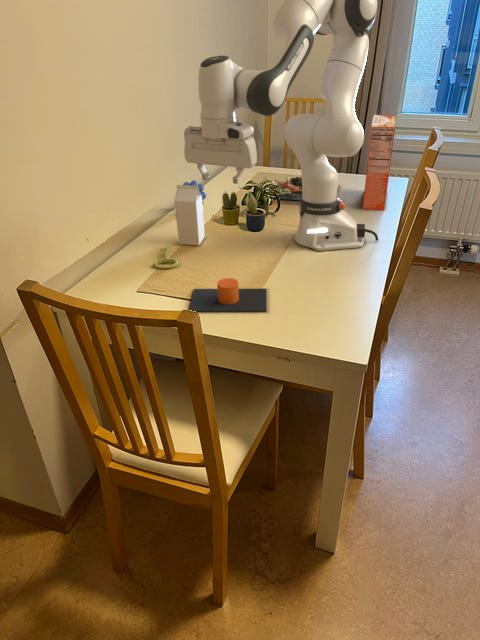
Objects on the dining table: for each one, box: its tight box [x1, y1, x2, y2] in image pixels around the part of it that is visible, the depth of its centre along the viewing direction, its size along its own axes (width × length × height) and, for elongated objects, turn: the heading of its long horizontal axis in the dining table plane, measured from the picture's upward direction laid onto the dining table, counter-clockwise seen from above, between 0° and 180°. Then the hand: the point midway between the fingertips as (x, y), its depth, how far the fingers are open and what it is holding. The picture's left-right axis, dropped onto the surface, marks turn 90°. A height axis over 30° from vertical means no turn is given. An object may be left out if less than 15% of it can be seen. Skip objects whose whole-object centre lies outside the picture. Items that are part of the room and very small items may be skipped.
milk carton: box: [174, 184, 206, 246], centre depth 164 cm, size 7×7×19 cm
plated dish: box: [264, 175, 340, 205], centre depth 209 cm, size 35×28×7 cm
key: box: [153, 246, 179, 270], centre depth 155 cm, size 7×12×2 cm, turn 23°
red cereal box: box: [362, 114, 396, 211], centre depth 192 cm, size 23×8×30 cm, turn 165°
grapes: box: [182, 179, 207, 207], centre depth 192 cm, size 12×7×12 cm, turn 73°
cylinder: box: [216, 277, 240, 305], centre depth 132 cm, size 6×6×5 cm
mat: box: [188, 288, 267, 313], centre depth 134 cm, size 20×12×1 cm, turn 88°
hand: (221, 181), depth 136 cm, fingers open, 8 cm apart
